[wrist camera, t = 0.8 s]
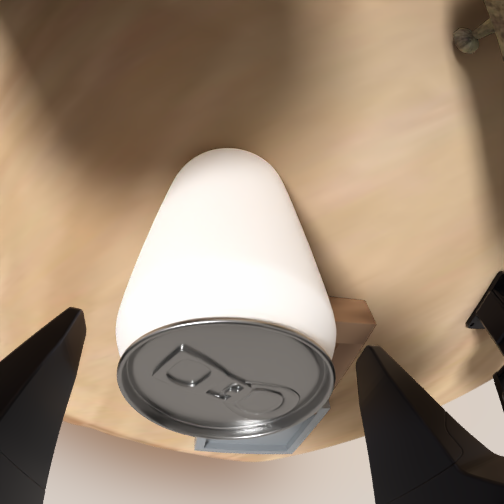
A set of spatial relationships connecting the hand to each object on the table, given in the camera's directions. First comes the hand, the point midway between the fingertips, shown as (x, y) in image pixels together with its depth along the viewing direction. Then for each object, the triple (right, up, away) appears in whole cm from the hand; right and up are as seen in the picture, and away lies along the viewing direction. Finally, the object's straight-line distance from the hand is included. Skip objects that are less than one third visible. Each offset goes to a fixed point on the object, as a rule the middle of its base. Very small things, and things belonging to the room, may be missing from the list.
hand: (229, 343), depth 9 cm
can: (-1, +6, +9) cm, 10 cm away
